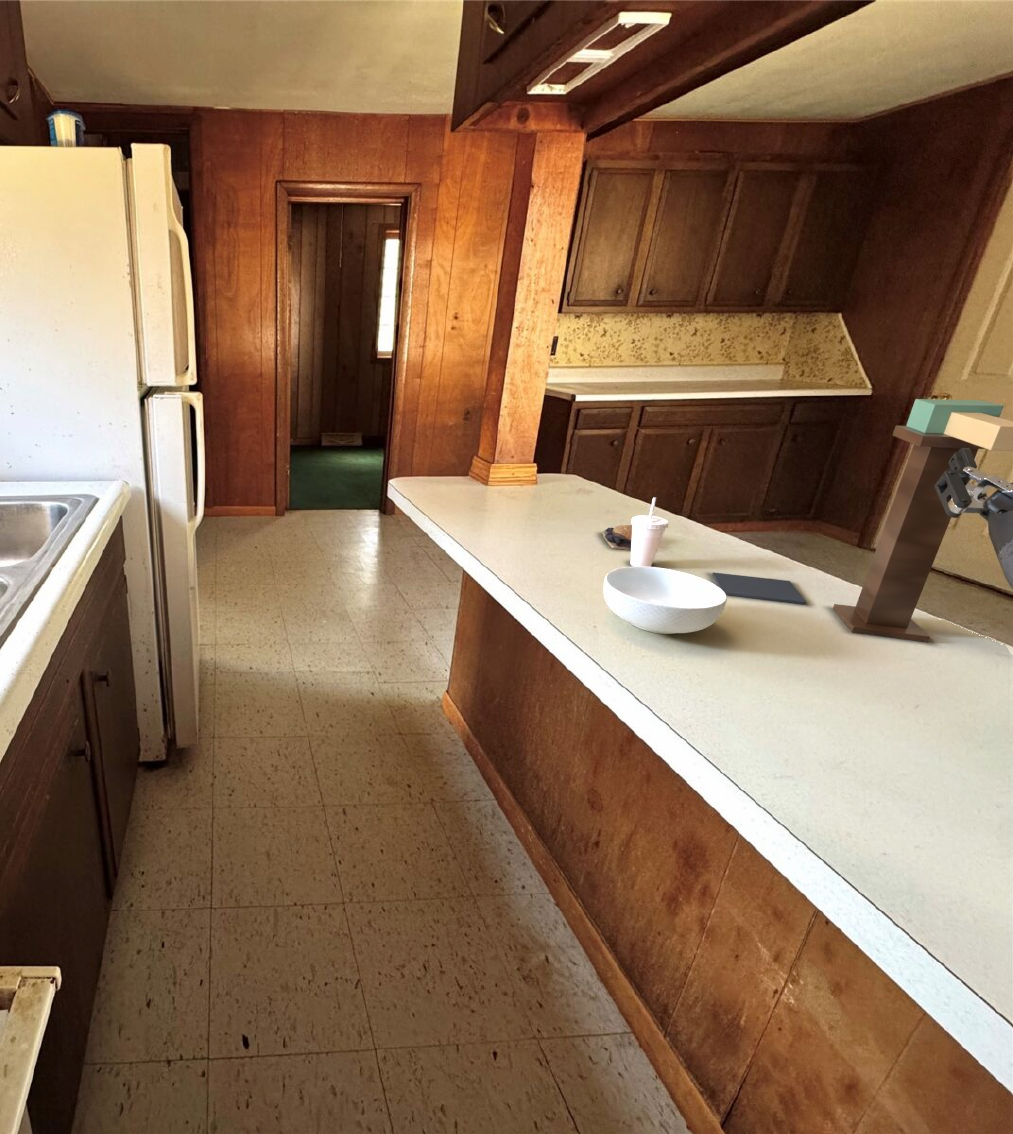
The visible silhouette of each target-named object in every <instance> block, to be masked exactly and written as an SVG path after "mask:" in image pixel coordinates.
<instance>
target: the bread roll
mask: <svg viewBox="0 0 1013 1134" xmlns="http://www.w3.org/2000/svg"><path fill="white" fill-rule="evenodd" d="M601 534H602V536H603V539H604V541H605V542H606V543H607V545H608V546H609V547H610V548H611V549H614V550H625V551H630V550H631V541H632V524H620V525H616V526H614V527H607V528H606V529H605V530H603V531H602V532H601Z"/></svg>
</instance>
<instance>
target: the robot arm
mask: <svg viewBox="0 0 1013 1134" xmlns="http://www.w3.org/2000/svg"><path fill="white" fill-rule="evenodd" d="M949 466H950V469H948V470H946V471H945V472H944V473H943V475H942V476H941V477H940V479H939V480H938V481H937V482H936V484H935V485H934V487H935V489H936V491H937V494H938V496H939V498H940V500H941V503H942V505H943V507H944V509H945V512H946V514H947V515H948V516H949V517H951V519H957V518H960V517H961V516H962V515H963V514H979V516H981V517H982V518H983V519H984V520H985V521H986V522H987V529H988V536H989V538H990V541H991V544H992V546H993V550H994V552H995V554H996V558H997V560H998V563H999V565H1000V568H1001V571H1002V574H1003V576H1004V578H1005V581H1006V582H1007V583H1008V585H1009V587H1010V588H1011V589H1012V590H1013V482H1009V481H1007V480H1005V479H1004V478H1002V477H1000V476H998V475H996V474H992V475H989V474H987V473H985V472H983V471H981V470H980V469H978V465H977V462H976V460H975V459H974V457H973V455H972V452H971V450H970V449H968V448H961V449H960V450H959V451H958V452H956V453H955V454H954V455H953V457H952V458H951V459H950V460H949ZM971 480H973V481H975V482H976V483H977V485H975V484H974V483H972V482H971ZM991 488H994V490H995V489H996V490H995V491H994V492H993V493H991V495H990V496H988V494H987V493H988V492H989V491H990V490H991Z"/></svg>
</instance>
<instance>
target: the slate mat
mask: <svg viewBox="0 0 1013 1134" xmlns="http://www.w3.org/2000/svg"><path fill="white" fill-rule="evenodd" d="M711 576H712V577H713V579H714V581H715V584H716V586H718V587H719V588H721V589H722V590H723V591H724V592H725V594H726V596H732V597H738V598H739V597H740V598H747V599H757V600H764V601H771V602H772V601H773V602H779V603H789V604H797V605H807V601H806V600H805V599H804V597H803V596H802V594H800V592H799V590H798V589H797V588H796V587H795V585H794V584H793V583H792V581H790V580H785V579H776V578H767V577H757V576H748V575H741V574H731V573H722V572H712V575H711Z"/></svg>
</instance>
